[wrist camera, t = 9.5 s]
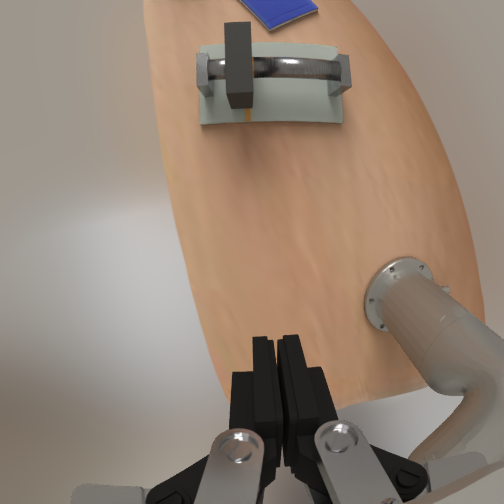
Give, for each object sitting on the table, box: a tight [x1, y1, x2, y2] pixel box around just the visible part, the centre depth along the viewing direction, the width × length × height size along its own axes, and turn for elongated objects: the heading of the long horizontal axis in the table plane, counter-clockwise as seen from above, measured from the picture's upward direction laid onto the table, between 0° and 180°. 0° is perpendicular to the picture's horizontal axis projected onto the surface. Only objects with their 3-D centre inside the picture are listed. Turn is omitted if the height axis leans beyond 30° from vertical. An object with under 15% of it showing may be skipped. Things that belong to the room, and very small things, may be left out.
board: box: [199, 42, 343, 125], centre depth 30 cm, size 18×11×1 cm, turn 92°
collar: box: [224, 22, 254, 109], centre depth 25 cm, size 2×8×8 cm, turn 2°
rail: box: [197, 52, 352, 97], centre depth 27 cm, size 16×4×6 cm, turn 92°
